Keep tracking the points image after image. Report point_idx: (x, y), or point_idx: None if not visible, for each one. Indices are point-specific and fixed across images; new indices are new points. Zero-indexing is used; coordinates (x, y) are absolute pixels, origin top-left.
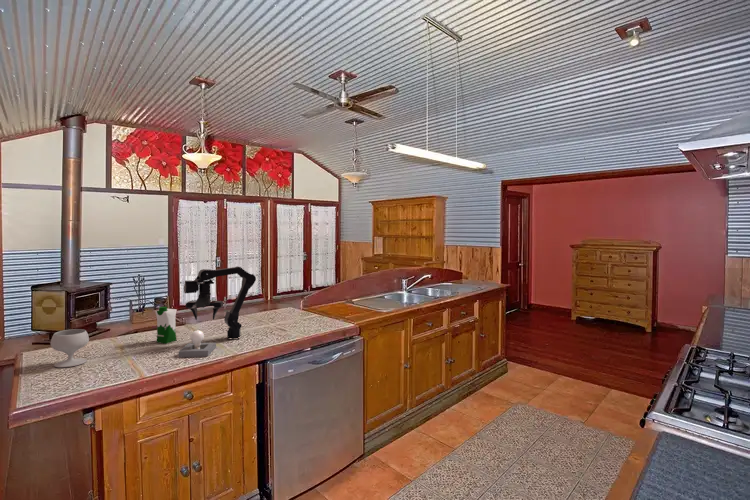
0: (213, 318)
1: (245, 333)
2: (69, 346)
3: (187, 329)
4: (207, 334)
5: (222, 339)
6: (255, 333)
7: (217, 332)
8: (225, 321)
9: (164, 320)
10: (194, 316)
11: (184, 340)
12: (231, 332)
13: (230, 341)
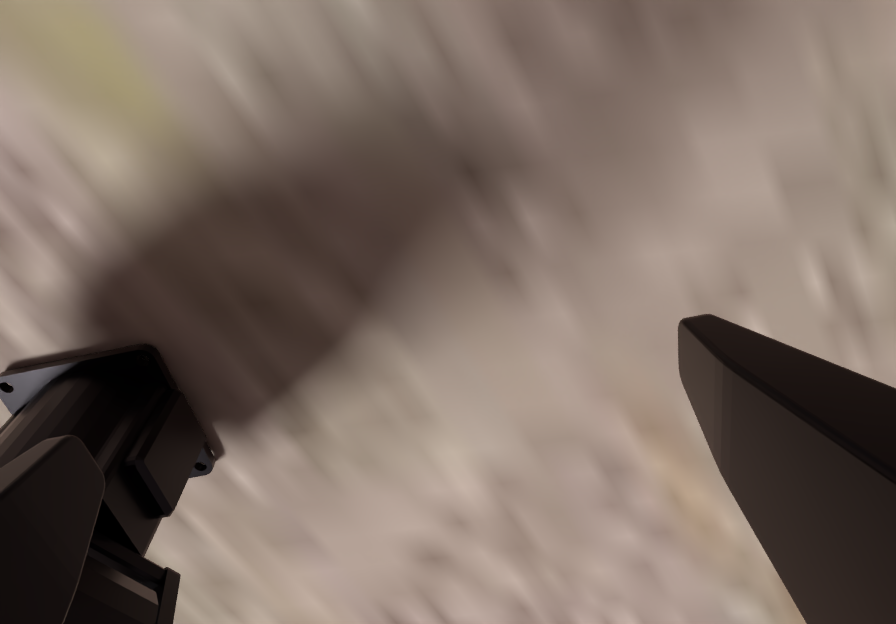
0: (17, 461)
1: None
2: None
3: None
4: (573, 504)
5: (238, 344)
6: None
7: (490, 577)
8: (73, 603)
9: None
10: (831, 367)
11: (786, 229)
12: (54, 432)
13: (42, 270)
